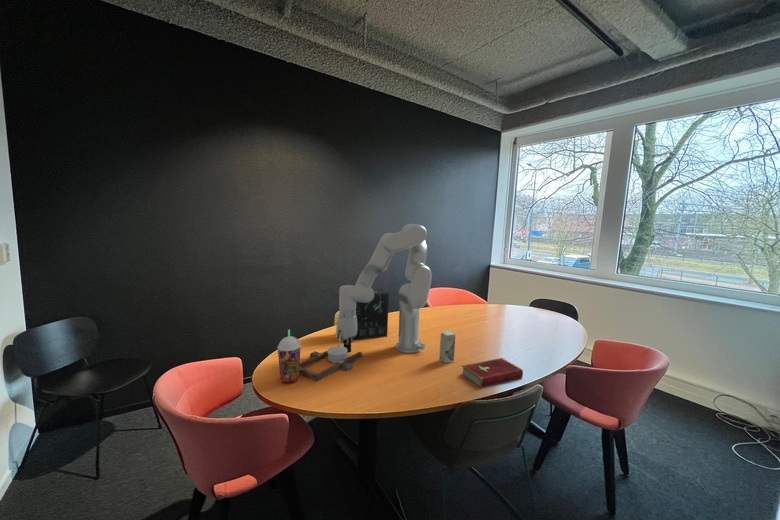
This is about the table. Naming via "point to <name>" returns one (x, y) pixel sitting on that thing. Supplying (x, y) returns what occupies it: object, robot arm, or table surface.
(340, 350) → the ramekin
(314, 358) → the beam track
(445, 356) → the box
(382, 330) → the headset box
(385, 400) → the table surface
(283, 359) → the smoothie
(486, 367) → the hardcover book
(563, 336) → the table surface
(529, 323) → the table surface
